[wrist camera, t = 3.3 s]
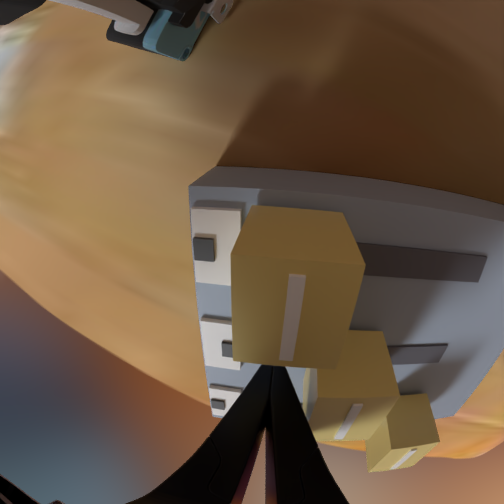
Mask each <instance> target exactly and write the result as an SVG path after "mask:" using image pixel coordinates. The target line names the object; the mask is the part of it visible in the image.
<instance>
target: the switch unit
mask: <svg viewBox="0 0 504 504" xmlns="http://www.w3.org/2000/svg"><path fill="white" fill-rule="evenodd" d="M189 205H190V223H191V238H192V251H193V264H194V275H195V286H196V296H197V306H198V315H199V324H200V332H201V340H202V348H203V356H204V363H205V370H206V377H207V384H208V391H209V397H210V403H211V409H212V415H213V417H219V418H223V417H224V415H225V414H226V413H227V411H228V410H229V409H230V407H231V406H232V405H233V403H234V402H235V401H236V399H237V398H238V397H239V395H240V394H241V392H242V391H243V390H244V388H245V387H246V385H247V384H248V383H249V381H250V380H251V378H252V377H253V375H254V374H255V373H256V371H257V370H258V368H259V367H260V365H262V364H254V363H245V362H237V361H233V351H232V314H231V258H230V254H231V251H232V249H233V247H234V244H235V242H236V240H237V238H238V235H239V233H240V231H241V228H242V226H243V224H244V222H245V219H246V217H247V215H248V213H249V210H250V208H251V206H252V205H260V206H274V207H287V208H300V209H311V210H322V211H333V212H343V214H344V216H345V219H346V221H347V223H348V225H349V227H350V230H351V232H352V234H353V236H354V239H355V241H356V243H357V246H358V248H359V250H360V253H361V255H362V257H363V260H364V262H365V265H366V266H365V270H364V274H363V278H362V282H361V286H360V290H359V294H358V298H357V302H356V305H355V309H354V312H353V316H352V319H351V323H350V326H349V330H362V331H383V334H384V338H385V341H386V344H387V348H388V351H389V355H390V358H391V362H392V366H393V369H394V373H395V377H396V381H397V385H398V389H399V393H400V396H401V395H414V394H424V393H427V395H428V399H429V402H430V406H431V409H432V413H433V416H434V419H438V418H444V417H449V416H454V414H455V413H456V412H457V411H458V410H459V409H460V408H461V406H462V405H463V404H464V403H465V402H466V400H467V399H468V398H469V397H470V395H471V394H472V393H473V392H474V390H475V389H476V388H477V386H478V385H479V384H480V382H481V381H482V380H483V378H484V377H485V376H486V374H487V373H488V371H489V370H490V368H491V367H492V366H493V364H494V363H495V361H496V360H497V358H498V357H499V355H500V353H501V352H502V350H503V349H504V205H502V204H498V203H494V202H490V201H486V200H482V199H478V198H474V197H470V196H465V195H461V194H456V193H452V192H447V191H442V190H437V189H432V188H427V187H421V186H416V185H410V184H404V183H398V182H392V181H385V180H378V179H371V178H364V177H356V176H348V175H339V174H330V173H320V172H310V171H298V170H285V169H270V168H251V167H224V166H215V167H214V168H212V169H211V170H210V171H208V172H207V173H205V174H204V175H203V176H201V177H200V178H199V179H197V180H196V181H195V182H193V183H192V184H190V185H189ZM286 369H287V371H288V374H289V376H290V378H291V381H292V383H293V386H294V388H295V391H296V393H297V396H298V398H299V401H300V403H301V406H302V408H303V379H304V375H305V371H306V368H298V367H286Z"/></svg>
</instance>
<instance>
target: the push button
mask: <svg viewBox="0 0 504 504" xmlns="http://www.w3.org/2000/svg"><path fill="white" fill-rule="evenodd" d="M45 1H46V0H0V25H6V24H8V23H10V22H12V21H14V20H15V19H17V18H19V17H21V16H23V15H25V14H26V13H28V12H30V11H32V10H34V9H36V8H38V7H39V6H41V5H42V4H43V3H44V2H45ZM50 1H54V2H58V3H62V4H66V5H69V6H73V7H76V8H80V9H83V10H86V11H90V12H93V13H96V14H99V15H102V16H104V17H107V18H110V19H113V20H112V22H111V24H110V26H109V28H108V30H107V33H106V37H107V39H108V40H110V41H113V42H117V43H121V44H124V45H128V46H131V47H134V48H138V49H141V50H145V51H149V52H153V53H156V54H160V55H163V56H167V57H170V58H174V59H177V60H180V61H185V60H186V59H187V58H188V56H189V55H190V53H191V51H192V49H193V45H194V43H195V41H196V39H197V37H198V35H199V34H200V32H201V30H202V28H203V26H204V25H205V23H206V21H207V19H208V17H209V16H211V17H212V18H213V19H214V20H215V21H216V22H217V23H218V24H220V23H221V22H223V20H224V19H225V17H226V15H227V13H228V12H229V10H230V8H231V7H232V4H233V0H50ZM224 4H226V6H225V9H224V11H223V12H222V13H221V14H220V11H221V8H222V7H223V5H224Z"/></svg>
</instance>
